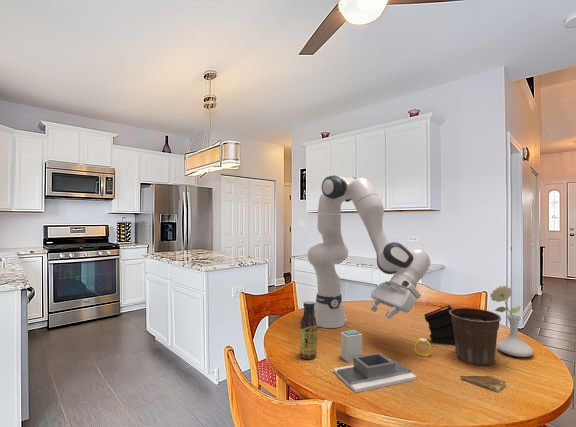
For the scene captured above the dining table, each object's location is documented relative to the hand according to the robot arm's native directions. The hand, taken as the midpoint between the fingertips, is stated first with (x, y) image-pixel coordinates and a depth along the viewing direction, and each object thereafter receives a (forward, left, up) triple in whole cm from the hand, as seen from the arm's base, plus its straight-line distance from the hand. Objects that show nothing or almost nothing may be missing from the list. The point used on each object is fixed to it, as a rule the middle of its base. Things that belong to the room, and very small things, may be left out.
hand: (379, 313), depth 124 cm
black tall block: (0, +30, -15) cm, 33 cm away
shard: (+31, +16, -16) cm, 38 cm away
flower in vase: (+17, +46, -15) cm, 51 cm away
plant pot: (+16, +29, -15) cm, 36 cm away
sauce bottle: (-7, -26, -15) cm, 31 cm away
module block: (0, -12, -15) cm, 19 cm away
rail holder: (+14, -12, -15) cm, 24 cm away
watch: (+7, +14, -15) cm, 22 cm away
